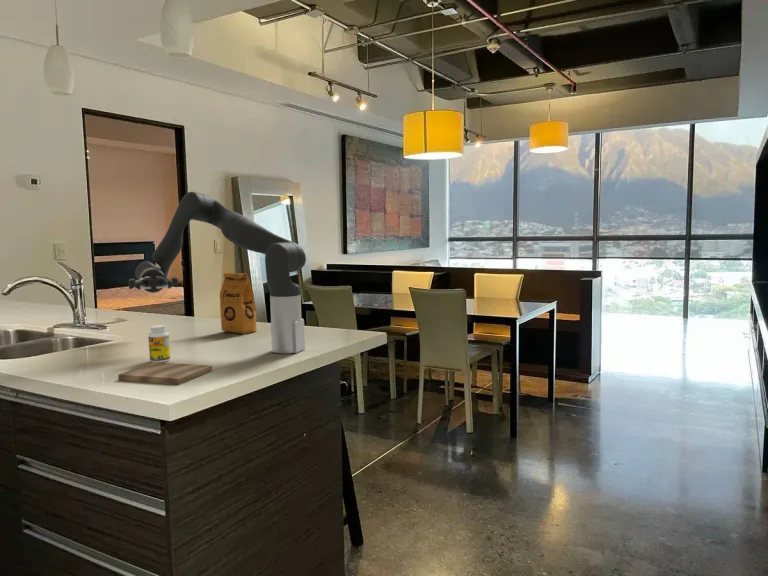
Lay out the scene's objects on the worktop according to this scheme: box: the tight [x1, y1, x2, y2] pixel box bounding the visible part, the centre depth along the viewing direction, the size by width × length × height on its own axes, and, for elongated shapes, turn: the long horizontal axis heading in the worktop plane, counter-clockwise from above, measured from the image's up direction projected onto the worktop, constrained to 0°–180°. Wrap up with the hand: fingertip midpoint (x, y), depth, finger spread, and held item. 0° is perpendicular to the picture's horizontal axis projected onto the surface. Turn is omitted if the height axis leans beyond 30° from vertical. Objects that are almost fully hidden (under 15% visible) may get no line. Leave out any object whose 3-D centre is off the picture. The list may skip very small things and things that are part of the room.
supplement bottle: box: [148, 324, 171, 363], centre depth 167 cm, size 6×6×10 cm
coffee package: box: [219, 272, 257, 335], centre depth 213 cm, size 10×12×22 cm
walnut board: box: [117, 362, 213, 386], centre depth 150 cm, size 18×14×2 cm
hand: (154, 285), depth 175 cm, fingers open, 8 cm apart
